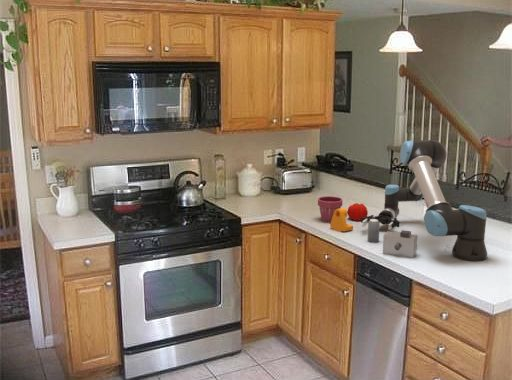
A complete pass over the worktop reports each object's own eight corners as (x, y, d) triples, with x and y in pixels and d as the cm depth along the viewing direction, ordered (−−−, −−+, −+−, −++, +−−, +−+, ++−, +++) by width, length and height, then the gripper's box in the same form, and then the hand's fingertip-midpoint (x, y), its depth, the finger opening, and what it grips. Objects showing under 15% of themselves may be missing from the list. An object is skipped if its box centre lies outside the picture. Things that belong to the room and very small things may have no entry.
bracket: (353, 230, 287) (354, 209, 284) (344, 232, 282) (345, 211, 280) (339, 226, 295) (340, 205, 293) (330, 228, 291) (330, 207, 288)
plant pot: (339, 224, 299) (340, 202, 296) (315, 222, 303) (315, 200, 301) (343, 218, 312) (344, 197, 309) (320, 216, 316) (320, 195, 314)
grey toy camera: (420, 247, 258) (421, 225, 255) (412, 259, 241) (413, 235, 238) (391, 243, 264) (392, 222, 262) (381, 254, 247) (382, 232, 245)
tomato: (350, 216, 316) (350, 201, 314) (370, 218, 311) (370, 203, 309) (344, 220, 307) (344, 205, 305) (364, 223, 302) (365, 207, 300)
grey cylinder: (381, 241, 268) (382, 220, 266) (374, 243, 264) (375, 222, 262) (371, 238, 272) (372, 217, 270) (365, 240, 268) (366, 219, 266)
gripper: (409, 225, 285) (400, 236, 267) (364, 220, 297) (352, 229, 279) (410, 212, 284) (400, 221, 266) (364, 207, 295) (352, 216, 277)
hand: (375, 225), depth 272 cm, fingers open, 13 cm apart
